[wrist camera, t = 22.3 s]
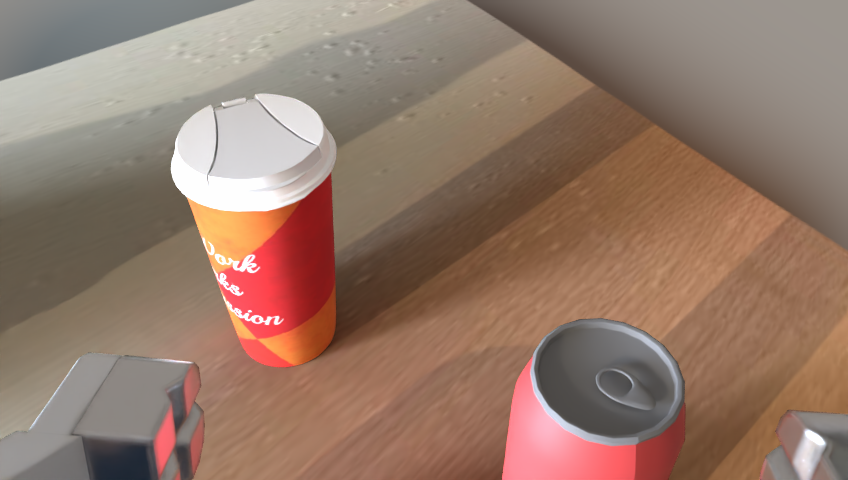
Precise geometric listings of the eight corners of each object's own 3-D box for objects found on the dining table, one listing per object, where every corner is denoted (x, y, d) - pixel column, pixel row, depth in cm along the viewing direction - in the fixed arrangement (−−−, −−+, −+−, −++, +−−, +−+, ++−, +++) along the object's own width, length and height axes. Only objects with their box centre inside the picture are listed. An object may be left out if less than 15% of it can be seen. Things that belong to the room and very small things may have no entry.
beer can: (588, 632, 33) (641, 492, 25) (468, 534, 36) (480, 381, 28) (663, 521, 37) (732, 367, 29) (548, 441, 40) (580, 281, 32)
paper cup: (207, 304, 47) (150, 110, 37) (328, 266, 49) (304, 73, 39) (241, 405, 42) (185, 209, 32) (375, 356, 44) (360, 160, 34)
